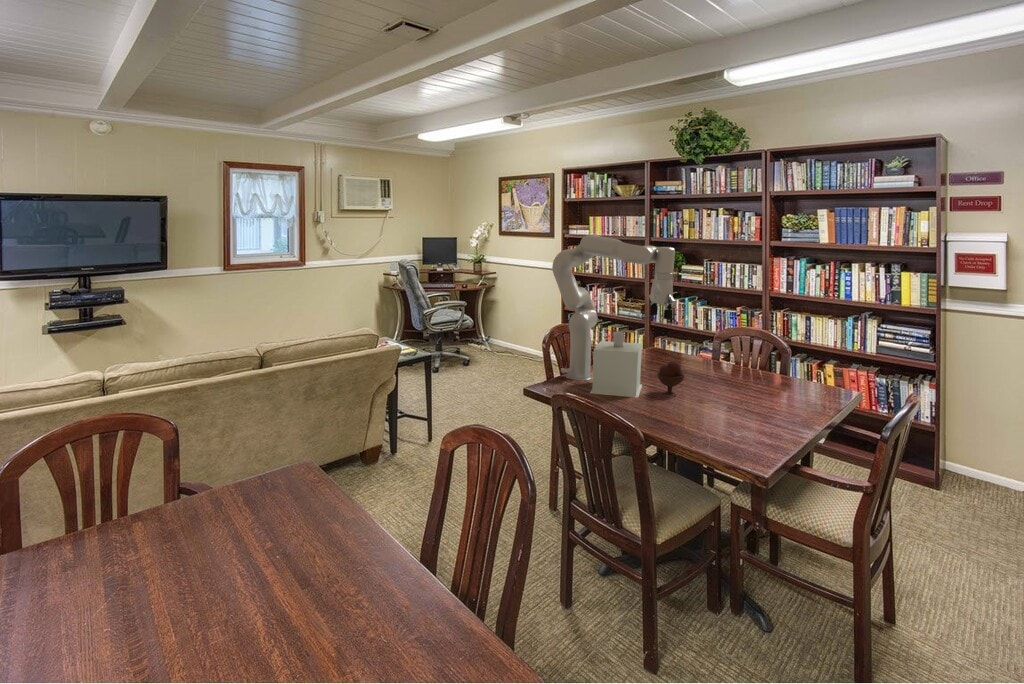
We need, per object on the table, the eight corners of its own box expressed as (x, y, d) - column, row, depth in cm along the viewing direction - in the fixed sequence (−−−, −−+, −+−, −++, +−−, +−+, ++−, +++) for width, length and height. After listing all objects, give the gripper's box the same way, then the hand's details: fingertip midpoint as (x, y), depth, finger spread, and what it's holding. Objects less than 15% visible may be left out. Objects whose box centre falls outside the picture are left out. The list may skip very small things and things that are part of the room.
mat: (589, 395, 239) (589, 393, 239) (597, 382, 258) (597, 380, 258) (638, 399, 233) (638, 397, 233) (642, 386, 252) (642, 384, 252)
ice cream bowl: (679, 392, 244) (682, 358, 241) (684, 399, 233) (687, 364, 230) (654, 391, 245) (656, 357, 242) (658, 399, 234) (660, 363, 231)
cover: (592, 392, 240) (594, 335, 235) (599, 381, 256) (601, 327, 251) (635, 396, 234) (638, 338, 229) (640, 384, 251) (642, 330, 246)
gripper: (644, 274, 246) (641, 313, 250) (668, 279, 230) (664, 320, 234) (659, 274, 249) (656, 313, 252) (683, 278, 233) (680, 320, 236)
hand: (660, 316), depth 243 cm, fingers open, 9 cm apart
